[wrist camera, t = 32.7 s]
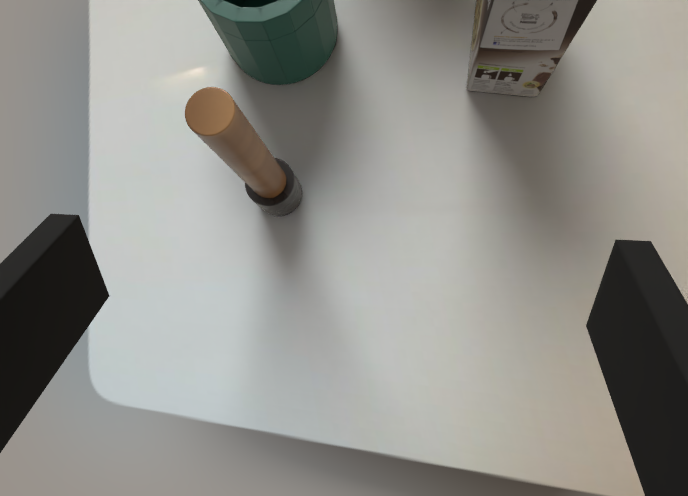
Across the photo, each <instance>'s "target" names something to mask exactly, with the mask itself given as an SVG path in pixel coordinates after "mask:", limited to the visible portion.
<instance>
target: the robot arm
mask: <svg viewBox="0 0 688 496" xmlns="http://www.w3.org/2000/svg"><path fill="white" fill-rule="evenodd" d="M108 297H109V294H108V291H107V288H106V286H105V283H104V280H103V278H102V275H101V273H100V270H99V267H98V265H97V262H96V259H95V257H94V254H93V252H92V249H91V246H90V244H89V241H88V238H87V236H86V233H85V230H84V228H83V225H82V223H81V220H80V217H79V215H64V214H50V215H49V216H48V217H47V218H46V219H45V220H44V221H43V222H42V223H41V224H40V225H39V226H38V227H37V228H36V229H35V230H34V231H33V232H32V233H31V234H30V235H29V236H28V237H27V238H26V239H25V240H24V241H23V242H22V243H21V244H20V245H19V246H18V247H17V248H16V249H15V250H14V251H13V252H12V253H11V254H10V255H9V256H8V257H7V258H6V259H5V260H4V261H3V262H2V263H1V264H0V453H1V451H2V450H3V448H4V447H5V445H6V444H7V443H8V441H9V440H10V438H11V437H12V435H13V434H14V432H15V431H16V430H17V428H18V427H19V425H20V424H21V422H22V421H23V419H24V418H25V417H26V415H27V414H28V412H29V411H30V409H31V408H32V407H33V405H34V404H35V402H36V401H37V399H38V398H39V396H40V395H41V394H42V392H43V391H44V389H45V388H46V386H47V385H48V384H49V382H50V381H51V379H52V378H53V376H54V375H55V373H56V372H57V371H58V369H59V368H60V366H61V365H62V363H63V362H64V360H65V359H66V357H67V356H68V354H69V353H70V352H71V350H72V349H73V347H74V346H75V345H76V343H77V342H78V340H79V339H80V337H81V336H82V335H83V333H84V332H85V330H86V329H87V327H88V326H89V325H90V323H91V322H92V320H93V319H94V317H95V316H96V314H97V313H98V312H99V310H100V309H101V307H102V306H103V304H104V303H105V301H106V300H107V299H108ZM586 327H587V330H588V332H589V335H590V338H591V341H592V344H593V347H594V350H595V353H596V355H597V358H598V361H599V364H600V367H601V370H602V373H603V376H604V378H605V381H606V384H607V387H608V390H609V393H610V396H611V399H612V402H613V404H614V407H615V410H616V413H617V416H618V419H619V422H620V425H621V427H622V430H623V433H624V436H625V439H626V442H627V445H628V448H629V450H630V453H631V456H632V459H633V462H634V465H635V468H636V471H637V474H638V476H639V479H640V482H641V485H642V488H643V491H644V494H645V496H688V304H687V302H686V301H685V299H684V297H683V296H682V294H681V292H680V290H679V289H678V287H677V285H676V284H675V282H674V280H673V278H672V277H671V275H670V273H669V272H668V270H667V268H666V267H665V265H664V263H663V261H662V260H661V258H660V256H659V255H658V253H657V251H656V249H655V248H654V246H653V244H652V243H651V241H633V240H615V243H614V246H613V249H612V252H611V255H610V258H609V261H608V263H607V266H606V269H605V272H604V275H603V278H602V281H601V284H600V287H599V290H598V292H597V295H596V298H595V301H594V304H593V307H592V310H591V313H590V316H589V319H588V322H587V324H586Z"/></svg>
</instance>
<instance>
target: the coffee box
mask: <svg viewBox="0 0 688 496" xmlns="http://www.w3.org/2000/svg"><path fill="white" fill-rule="evenodd" d="M596 1H597V0H476V7H475V16H474V25H473V34H472V43H471V52H470V62H469V71H468V79H467V90H469V91H478V92H489V93H498V94H509V95H519V96H530V97H535V96H537V95H538V94H539V93H540V91H541V90H542V88H543V86H544V85H545V83H546V82H547V80H548V78H549V77H550V75H551V73H552V72H553V71H554V69H555V67H556V66H557V64H558V62H559V60H560V59H561V57H562V56H563V54H564V52H565V51H566V49H567V48H568V46H569V44H570V43H571V41H572V40H573V38H574V36H575V35H576V33H577V31H578V30H579V28H580V27H581V25H582V24H583V22H584V21H585V19H586V17H587V16H588V14H589V12H590V11H591V9H592V8H593V6H594V4H595V3H596Z"/></svg>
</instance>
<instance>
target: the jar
mask: <svg viewBox="0 0 688 496" xmlns="http://www.w3.org/2000/svg"><path fill="white" fill-rule="evenodd" d="M198 1H199V2H200V4H201V6H202V7H203V9H204V11H205V12H206V14H207V16H208V17H209V19H210V21H211V22H212V24H213V26H214V27H215V29H216V31H217V32H218V34H219V36H220V38H221V39H222V41H223V43H224V44H225V46H226V48H227V49H228V51H229V53H230V54H231V56H232V58H233V59H234V60H235V61H236V62H237V64H238V65H239V66H240V68H241V69H242V70H243V71H244V72H245V73H247V74H248V75H249V76H251V77H252V78H254V79H256V80H258V81H261V82H264V83H268V84H276V85H283V84H291V83H295V82H298V81H301V80H303V79H306V78H307V77H309V76H311V75H313V74H314V73H315V72H316V71H318V70H319V69H320V68H321V67H322V66H323V65H324V64H325V62H326V61H327V60H328V58H329V57H330V55H331V53H332V51H333V49H334V46H335V43H336V38H337V16H336V11H335V5H334V0H198Z"/></svg>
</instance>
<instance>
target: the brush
mask: <svg viewBox="0 0 688 496" xmlns="http://www.w3.org/2000/svg"><path fill="white" fill-rule="evenodd" d="M185 118H186V122H187V124H188V126H189V127H190V129H191V130H192V131H193V132H194V133H195V134H197V135H198V136H199V137H200V138H201V139H202V140H203V141H204V142H205V143H206V144H207V145H208V146H209V147H210V148H211V149H212V150H213V151H214V152H215V153H216V154H217V155H218V156H219V157H220V158H221V159H222V160H223V161H224V162H225V163H226V164H227V165H228V166H229V167H230V168H231V169H232V170H233V171H234V172H235V173H236V174H237V175H238V176H239V177H240V178H241V179H242V180H243V181H244V182H245V188H246V191H247V193H248V195H249V197H250V198H251V199H252V200H253V201H254V202H255V203H256V204H257V205H258V206H260V207H261V208H262V209H263V210H264V211H265V212H266V213H268V214H270V215H273V216H285V215H288V214H290V213H291V212H293V211H294V210H295V209H296V208H297V207H298V206H299V204H300V202H301V199H302V187H301V184H300V182H299V180H298V179H297V177H296V176H295V174H294V173H293V171H292V170H291V168H290V167H289V165H288V164H287V163H285V162H284V161H282V160H280V159H277V158H274V157H273V155H272V154H271V153H270V151H269V150H268V148H267V147H266V145H265V144H264V143H263V141H262V140H261V138H260V137H259V135H258V134H257V133H256V131H255V130H254V128H253V127H252V126H251V124H250V123H249V121H248V120H247V118H246V117H245V116H244V114H243V113H242V111H241V110H240V108H239V107H238V106H237V104H236V103H235V101H234V100H233V98H232V97H231V96H230V95H229V94H228V93H227V92H226V91H225V90H223V89H220V88H216V87H207V88H203V89H201V90H199V91H197V92H196V93H194V94H193V95H192V96H191V98H190V99H189V101H188V103H187V105H186V109H185Z"/></svg>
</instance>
